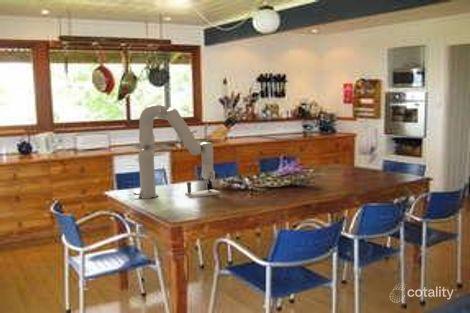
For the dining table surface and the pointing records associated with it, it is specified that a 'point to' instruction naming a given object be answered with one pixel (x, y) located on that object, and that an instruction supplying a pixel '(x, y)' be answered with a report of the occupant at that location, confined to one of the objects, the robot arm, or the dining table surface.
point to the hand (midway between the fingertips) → (208, 188)
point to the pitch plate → (199, 192)
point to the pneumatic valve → (209, 178)
